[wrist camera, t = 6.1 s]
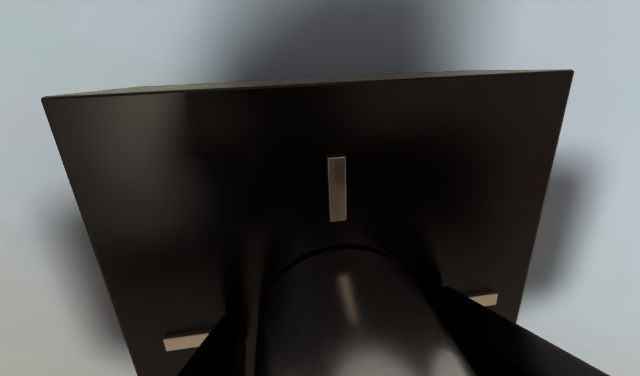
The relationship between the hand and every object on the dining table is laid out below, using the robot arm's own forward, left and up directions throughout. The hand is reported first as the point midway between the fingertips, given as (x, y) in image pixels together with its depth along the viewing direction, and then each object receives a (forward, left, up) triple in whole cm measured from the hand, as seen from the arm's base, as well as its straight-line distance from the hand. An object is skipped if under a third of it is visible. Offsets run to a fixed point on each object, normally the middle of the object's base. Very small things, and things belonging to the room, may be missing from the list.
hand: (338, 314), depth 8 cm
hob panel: (0, 0, -4) cm, 4 cm away
